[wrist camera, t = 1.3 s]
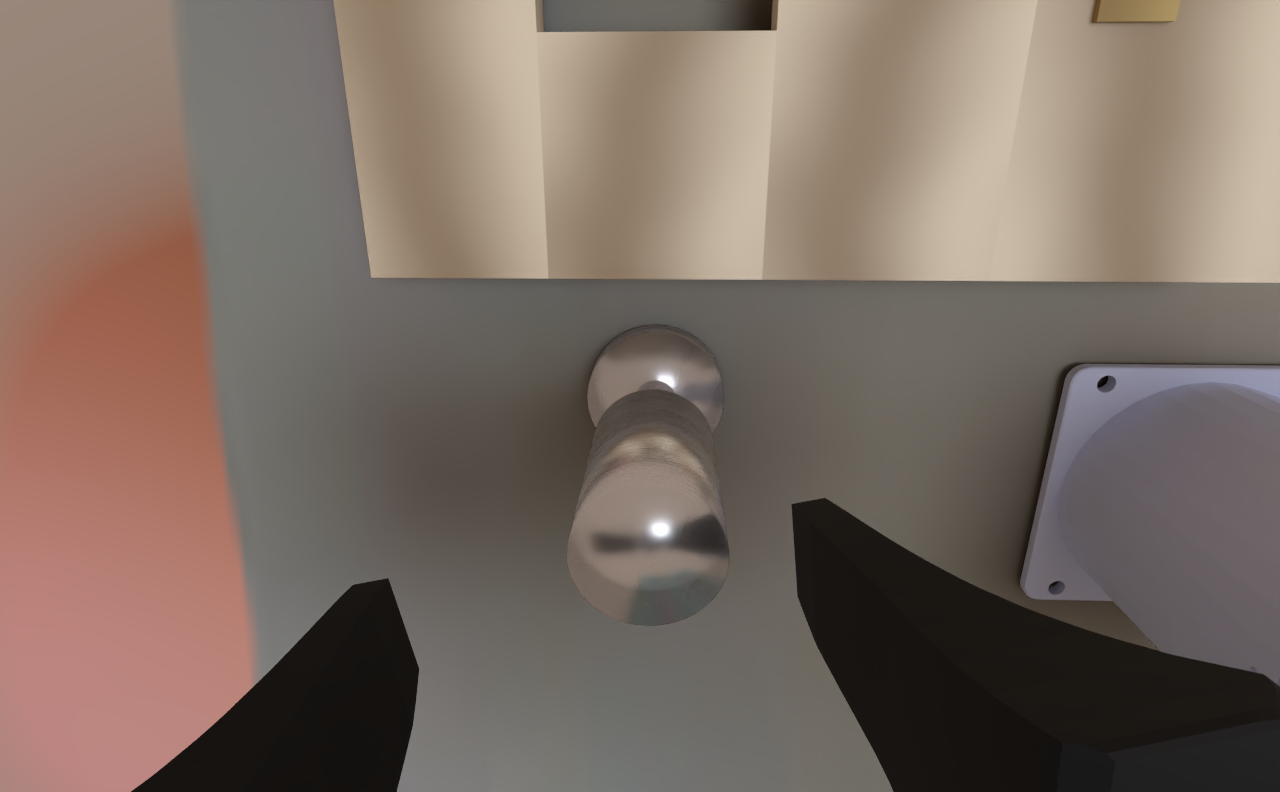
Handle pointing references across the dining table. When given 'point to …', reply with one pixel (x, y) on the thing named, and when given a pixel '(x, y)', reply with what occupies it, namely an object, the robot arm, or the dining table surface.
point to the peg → (651, 481)
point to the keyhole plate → (822, 142)
